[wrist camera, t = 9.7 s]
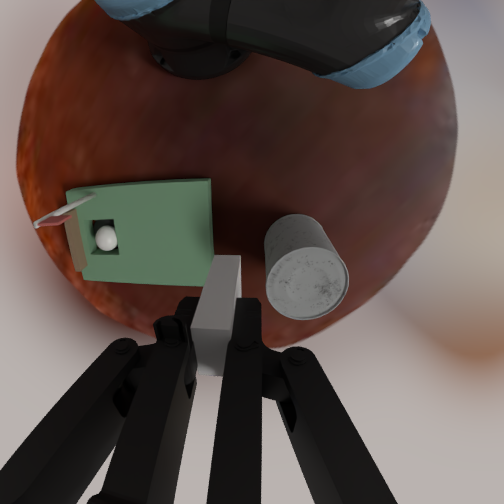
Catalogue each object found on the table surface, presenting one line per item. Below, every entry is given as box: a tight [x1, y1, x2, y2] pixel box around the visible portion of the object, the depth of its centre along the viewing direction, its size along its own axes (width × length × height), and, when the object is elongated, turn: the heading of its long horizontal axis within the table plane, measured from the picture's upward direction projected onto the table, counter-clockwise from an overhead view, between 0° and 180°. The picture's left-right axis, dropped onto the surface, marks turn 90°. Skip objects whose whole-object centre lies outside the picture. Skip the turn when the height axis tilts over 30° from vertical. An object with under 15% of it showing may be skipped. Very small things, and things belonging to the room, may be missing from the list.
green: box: [33, 178, 214, 286], centre depth 34 cm, size 16×24×16 cm, turn 90°
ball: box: [95, 226, 118, 251], centre depth 40 cm, size 4×4×4 cm
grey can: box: [264, 214, 349, 320], centre depth 36 cm, size 10×10×12 cm
